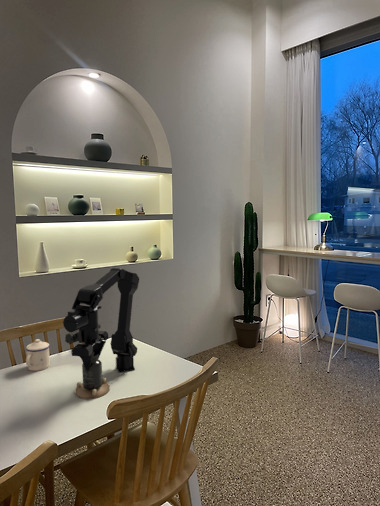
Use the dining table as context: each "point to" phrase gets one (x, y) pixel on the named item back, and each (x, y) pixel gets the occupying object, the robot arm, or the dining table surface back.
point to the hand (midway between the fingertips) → (91, 365)
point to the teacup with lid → (38, 355)
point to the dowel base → (93, 393)
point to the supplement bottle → (93, 374)
